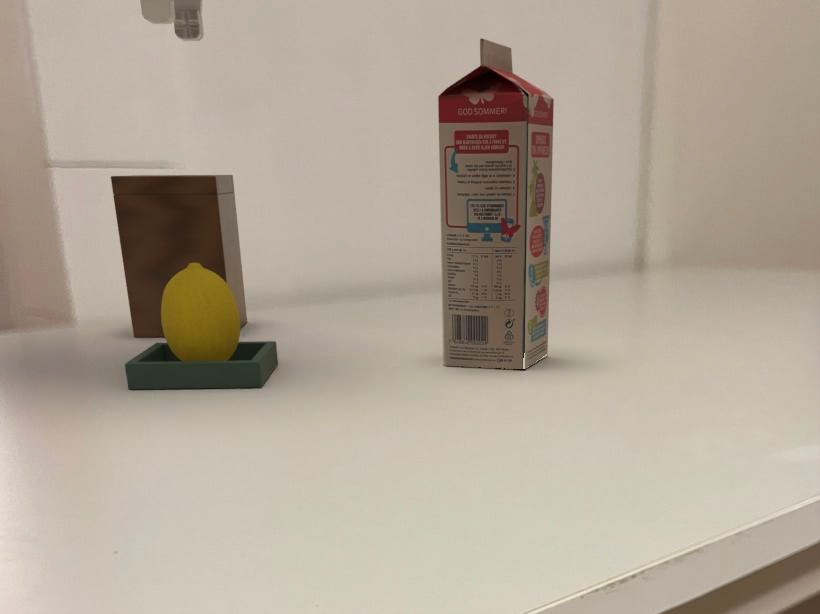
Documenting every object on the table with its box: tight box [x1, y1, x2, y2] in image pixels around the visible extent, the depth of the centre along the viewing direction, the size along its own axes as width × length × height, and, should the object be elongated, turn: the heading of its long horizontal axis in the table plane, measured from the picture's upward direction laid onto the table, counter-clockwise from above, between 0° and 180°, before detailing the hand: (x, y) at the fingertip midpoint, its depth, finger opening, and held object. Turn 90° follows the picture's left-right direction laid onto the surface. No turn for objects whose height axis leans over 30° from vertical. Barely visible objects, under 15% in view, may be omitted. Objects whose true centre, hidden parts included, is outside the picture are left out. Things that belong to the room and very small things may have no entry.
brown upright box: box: [110, 174, 248, 338], centre depth 94 cm, size 9×9×14 cm
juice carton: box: [437, 37, 555, 370], centre depth 76 cm, size 7×7×22 cm
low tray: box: [124, 340, 279, 390], centre depth 75 cm, size 9×9×2 cm
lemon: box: [161, 262, 241, 361], centre depth 74 cm, size 6×6×8 cm
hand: (176, 32), depth 68 cm, fingers open, 8 cm apart
